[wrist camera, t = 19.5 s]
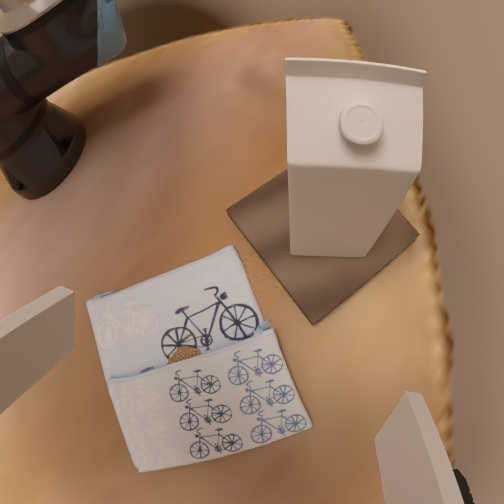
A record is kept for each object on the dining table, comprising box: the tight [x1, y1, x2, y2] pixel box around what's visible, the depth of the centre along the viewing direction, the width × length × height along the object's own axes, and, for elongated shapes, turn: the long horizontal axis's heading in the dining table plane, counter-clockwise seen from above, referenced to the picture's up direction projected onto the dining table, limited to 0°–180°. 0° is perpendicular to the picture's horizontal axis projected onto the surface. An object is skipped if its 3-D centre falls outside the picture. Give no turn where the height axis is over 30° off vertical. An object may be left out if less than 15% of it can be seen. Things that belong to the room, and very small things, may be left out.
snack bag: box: [86, 245, 313, 473], centre depth 28 cm, size 19×20×2 cm
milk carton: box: [285, 58, 427, 257], centre depth 21 cm, size 7×7×19 cm
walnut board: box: [226, 169, 420, 325], centre depth 31 cm, size 14×14×2 cm
